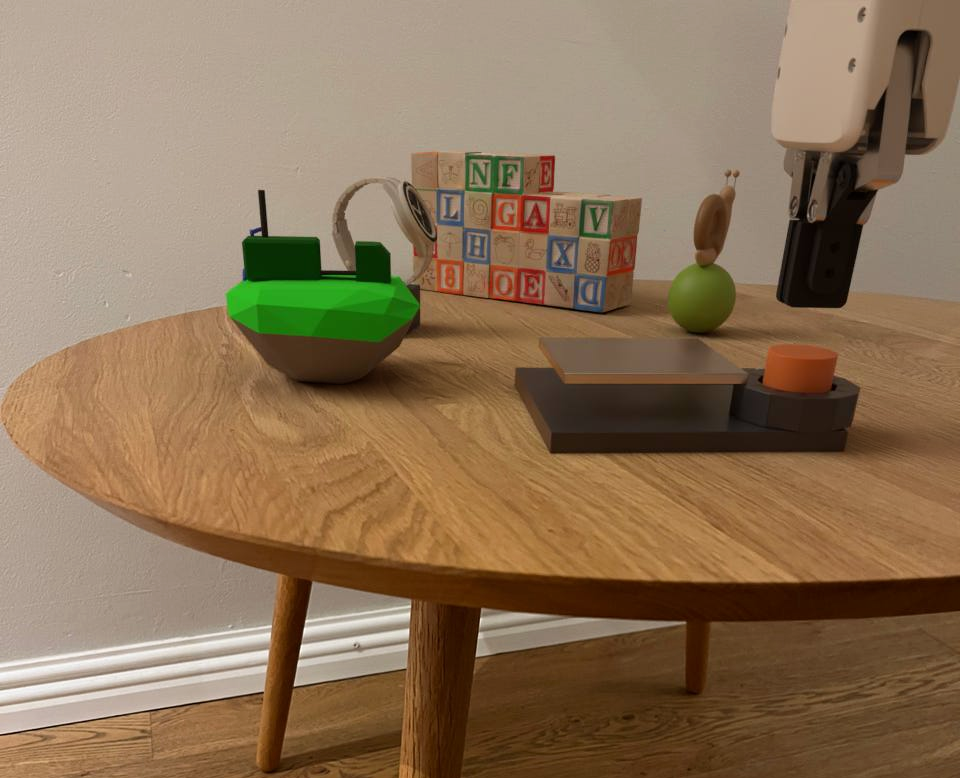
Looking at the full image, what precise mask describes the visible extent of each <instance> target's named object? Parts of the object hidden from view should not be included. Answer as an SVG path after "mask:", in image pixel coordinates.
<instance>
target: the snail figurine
mask: <svg viewBox="0 0 960 778" xmlns="http://www.w3.org/2000/svg"><path fill="white" fill-rule="evenodd" d="M724 176H725V177H726V182H725V185H724V186H723V187H722V188H721V189H720V191H719V193H718V194H717V193H711V194H709V195H708V196H706V197H705V198H704V199H703V200H702V202H701V203H700V205H699V207H698V210H697V213H696V215H695V220H694V226H693V244H694V248H695V250H696V251H695V252H694V253H695V254H694V259H695V263H693V264H690V265H688V266H686V267H685V268H683V269H682V270H681V271H680V272H678V274H677V275H676V276H675V277H674V279H673V281H672V282H671V284H670V287H669V289H668V294H667V307H668V311H669V313H670V316H671V319H673V321H674V322H675V323H676V324H677V325H678V326H679V327H680V328H682V329H683V330H686V331H688V332H691V333H698V334H702V333H708V332H712V331H713V330H716V329H717V328H719V327H721V326H722V325H723V324H724V323H725V322H726V321H727V320H728V319H729V317H730V316H731V314H732V312H733V310H734V308H735V305H736V301H737V290H736V285H735V282H734V279H733V277H732V276H731V274H730V273H729V272H728V271H727V270H726V269H725V268H724V267H722V266H721V265H719V264H717V263H715V262H716V260H717V258H719V256H720V255H721V254H722V251H723V249H724V246H725V242H726V239H727V236H728V232H729V228H730V224H731V219H732V211H733V205H734V201H735V199H736V189H735V188H736V181H737V178H738V177H739V176H740V171H739V170H738V169H735V170H733V171H732V170H730V169H726V170H725V171H724ZM731 176H732V177H733V178H734V182H733V186H732V185H729V184H728V181H729V178H730V177H731Z"/></svg>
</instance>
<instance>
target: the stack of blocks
mask: <svg viewBox="0 0 960 778" xmlns="http://www.w3.org/2000/svg"><path fill="white" fill-rule="evenodd" d="M410 162H411V166H410V167H411V169H410V170H411V185H412V186H413V187H414V188H415V189H416V191H417V192H418V193H419V195H420V196H421V198H422V199H423V201H424V203H425V204H426V206H427V208H428V210H429V212H430V214H431V217H432V219H433V222H434V225H435V228H436V232H437V243H436V244H434V252H433V253H434V254H433V257H432V260H431V262H430V263H429V266H428V268H427V269H426V271H425V272H424V273H423V274H422V275H421V276H420V277H419V278H418V279H417V280H415V281H414V282H413V284H416V285H420V290H424V291H431V292H439V293H446V294H453V295H464V296H469V297H477V298H483V299H484V298H485V299H495V300H497V299H498V300H503V301H512V302H521V303H526V304H534V305H541V306H542V305H543V306H544V305H545V306H549V307H557V308H558V307H559V308H566V309H574V310H580V311H587V312H595V313H606V312H609V311H612V310H616V309H619V308H622V307H626V306H629V305H630V304H631V303H632V296H633V285H634V273H635V272H634V270H635V269H636V260H637V259H636V258H637V248H638V234H639V232H640V222H641V214H642V212H641V211H642V203H643V197H639V196H622V195H611V194H604V193H589V192H588V193H587V192H573V191H555V170H556V155H554V154H537V153H535V154H534V153H526V152H525V153H522V152H482V151H470V150H469V151H467V150H465V151H463V150H446V151H445V150H443V151H442V150H441V151H440V150H439V151H435V150H434V151H415V152H410ZM412 251H413V253H412V254H413V257H412V276H413V275H414V272H415V271H416V269H417V268H418V267H419V266H420V265H419V264H420V261H421V258H419V257H418V254H417V251H416V247H415V246H414V245H413V244H412Z"/></svg>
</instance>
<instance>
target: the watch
mask: <svg viewBox="0 0 960 778" xmlns="http://www.w3.org/2000/svg"><path fill="white" fill-rule="evenodd" d="M369 184H381V185H382V188H383V190H384V191H385V192H386V193H387V196H389V201H390V206H391V210H392V213H393V215H394V218H395V221H396V222H397V225H398V227H399V228H400V231H402V234H403V235H404V236H405V238H406V239H407V240H408V241H409V243H411V244H412V246H413V245H414V246H415V247H416V251H417V254H418V257H419V258H421V261H420V264H419V265H420V266H419V267H418V268H417V269H416V271H415V272H414V275H413V274H412V275H411V276H410V277H409V278H408V279H406V280H403V282H404V284H405V285H406V286H407V288H408V289H409V290H410V292H411V293H412V295H413V296H414V297H415V299H416V300H417V302H418V303H419V304H420V305H421V289H420V285H416V284H414V281H415V280H417V279H418V278H419V277H420V276H421V275H422V274H423V273H424V272H425V271H426V269H427V268H428V266H429V263H430V262H431V260H432V257H433V254H434V253H433V252H434V244H436V243H437V232H436V228H435V225H434V222H433V219H432V217H431V214H430V212H429V210H428V208H427V206H426V204H425V203H424V201H423V199H422V198H421V196H420V195H419V193H418V192H417V191H416V189H415V188H414V187H413V186H412V183H410V182H409V181H407V180H402V181H401V180H400V179H397V178H395V177H390V176H375V177H374V176H373V177H367V178H363V179H360V180H357V181H355V182H354V183H352V184H350V185H349V186H348V187H347V188H345V190H344V191H343V192H342V193H341V194H340V195H339V197H338V199H337V201H336V203H335V205H334V208H333V213H332V219H331V222H332V224H331V225H332V230H331V236H332V239H333V243H334V245H335V249H336V252H337V253H338V256H339V258H340V260H341V261H342V264H343V265H344V266H345V268H346V271H356V261H355V242H354V239H353V236H352V234H351V231H350V230H349V227H348V220H347V219H346V218H345V217H346V210H347V208H348V205H349V203H350V202H349V201H351V200H352V198H353V197H354V196H355V195H356V192H357V193H358V191H360V190H361V189H362V188H364V187H365V186H367V185H369ZM419 326H421V307H420V308H419V310H418V312H417V314H416V315H415V317H414V319H413V321H412V323H411V325H410V327H409V329H408V331H407V333H406V335H405V336H407V335H408V334H410V333H411V332H412V331H414V330H415V329H416V328H418V327H419Z"/></svg>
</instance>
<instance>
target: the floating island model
mask: <svg viewBox="0 0 960 778" xmlns="http://www.w3.org/2000/svg"><path fill="white" fill-rule="evenodd" d="M257 193H258V194H257V195H258V207H259V208H258V210H259V219H260V227H256V228H254V229H251V228H250V229H249V235H248V236H246V237H245V238H243V240H242V241H241V247H242V258H243V269H242V280H241V281H239V283H237V284H235V286H233V287H232V288H231V289H229V290H228V291H226V292H225V297H226V299H225V300H226V309H227V315H228V317H229V318H230V319H231V321H232V322H233V323H234V325H235V326H236V327H237V328H238V329H239V331H240V332H241V333H242V334H243V336H244V337H245V339H247V341H248V342H249V344H251V345H252V347H253V348H254V350H256V352H257V353H258V354H259V356H260V357H261V358H262V360H263V361H264V362H265V363H266V364H267V365H268V366H270V367H271V368H273V369H275V370H276V371H278V372H280V373H282V374H284V375H285V376H287V377H288V378H291V379H293V380H295V381H296V382H305V383H319V384H333V385H346V384H349V383H352V382H354V381H357V380H360V379H362V378H364V377H365V376H367V375H368V374H369V373H370V372H371V371H372V370H374V368H376V367H377V366H379V364H381V363H382V362H383V361H384V360H385V359H386V358H388V357H389V356H390V355H391V354H392V353H394V352H395V351H396V350H398V349H399V347H400V346H401V345H402V343H403V341H404V339H405V336H407V335H406V333H407V331H408V329H409V327H410V325H411V323H412V321H413V319H414V317H415V315H416V314H417V312H418V310H419V308H420V309H421V303H420V304H419V303H418V302H417V300H416V299H415V297H414V296H413V295H412V293H411V292H410V290H409V289H408V288H407V286H406V285H405V284H404V280H403V279H402V278H401V277H400V276H398V275H392V262H391V261H392V259H391V257H392V255H391V252H390V250H388V249H387V248H386V247H385V245H384V244H383V243H382V242H381V241H370V240H365V241H363V240H362V241H361V240H356V241H355V242H354V245H355V261H356V271H348V270H336V269H335V270H331V269H330V270H328V269H327V270H325V269H322V253H321V240H320V238H319V237H318V236H296V235H295V236H294V235H293V236H291V235H289V236H288V235H287V236H286V235H285V236H283V235H269V227H268V213H267V201H266V191H265V189H258V190H257ZM260 232H261V233H260ZM257 233H260V234H261V235H255V234H257Z"/></svg>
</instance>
